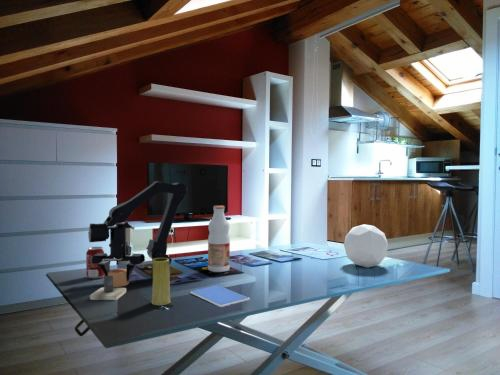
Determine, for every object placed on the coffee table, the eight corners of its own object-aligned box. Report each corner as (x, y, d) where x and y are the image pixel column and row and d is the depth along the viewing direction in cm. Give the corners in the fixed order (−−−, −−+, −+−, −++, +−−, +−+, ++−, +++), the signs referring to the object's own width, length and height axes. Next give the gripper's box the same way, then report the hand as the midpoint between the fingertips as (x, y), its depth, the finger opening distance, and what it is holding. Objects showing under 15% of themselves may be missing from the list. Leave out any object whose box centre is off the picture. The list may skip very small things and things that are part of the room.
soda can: (98, 280, 157) (98, 249, 157) (83, 279, 159) (82, 249, 158) (107, 275, 164) (107, 246, 163) (92, 274, 165) (92, 246, 165)
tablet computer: (251, 301, 134) (251, 297, 134) (220, 309, 126) (220, 305, 126) (218, 288, 149) (218, 284, 149) (188, 294, 141) (188, 291, 141)
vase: (153, 299, 133) (152, 257, 133) (171, 299, 134) (171, 257, 133) (150, 306, 127) (149, 261, 126) (169, 305, 128) (169, 261, 127)
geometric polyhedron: (373, 283, 178) (383, 253, 166) (333, 262, 188) (339, 233, 175) (389, 257, 190) (399, 227, 178) (350, 238, 199) (357, 209, 187)
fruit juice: (205, 268, 177) (205, 205, 176) (224, 266, 181) (224, 204, 180) (212, 273, 168) (212, 207, 167) (233, 271, 172) (233, 206, 171)
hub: (130, 281, 155) (130, 269, 155) (124, 287, 148) (124, 273, 148) (113, 281, 155) (113, 268, 155) (105, 286, 148) (105, 273, 148)
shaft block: (126, 292, 142) (126, 273, 141) (116, 300, 133) (116, 280, 132) (101, 291, 142) (101, 273, 142) (90, 299, 133) (89, 280, 133)
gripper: (149, 237, 158) (149, 275, 159) (103, 236, 159) (103, 275, 160) (139, 241, 147) (140, 283, 148) (90, 241, 148) (90, 282, 149)
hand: (118, 281), depth 151 cm, fingers closed on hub, 7 cm apart
